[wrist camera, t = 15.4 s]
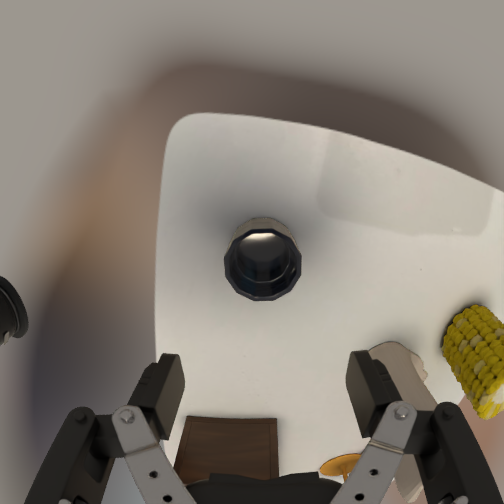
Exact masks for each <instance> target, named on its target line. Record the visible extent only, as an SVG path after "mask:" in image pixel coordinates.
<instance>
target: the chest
mask: <svg viewBox="0 0 504 504" xmlns="http://www.w3.org/2000/svg"><path fill="white" fill-rule="evenodd" d="M173 468H174V470H175V472H176V473H177V475H178V476H179V478H180V480H181V481H182V483H183V484H184V486H186V485H188V484H191V483H193V482H196V481H199V480H204V479H209V476H210V473H222V474H237V475H241V476H246V477H250V478H255V479H259V480H268V479H273V478H277V477H279V462H278V438H277V419H276V418H275V419H227V418H206V417H193V416H187V418H186V421H185V425H184V429H183V433H182V436H181V440H180V444H179V448H178V452H177V455H176V459H175V463H174V467H173Z"/></svg>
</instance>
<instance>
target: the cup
mask: <svg viewBox="0 0 504 504" xmlns="http://www.w3.org/2000/svg"><path fill="white" fill-rule="evenodd" d="M360 456H361V455H360V454H347V455H343V456H339V457H336V458H334V459H331V460H329V461H328V462H326V463H325V464H323V465H322V467H321V468H320V472H321V473H322V474H324V475H328V476H339V475H343V478H344V482H345V480H346V479H347V477H348V476H347V473H350V472H351V471H352V470H353V468H354V466H355V465H356V463H357V461H358V460H359V458H360Z"/></svg>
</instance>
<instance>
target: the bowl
mask: <svg viewBox="0 0 504 504" xmlns="http://www.w3.org/2000/svg"><path fill="white" fill-rule="evenodd" d="M301 262H302V256H301V253H300V251H299V249H298V246H297V244H296V242H295V240H294V238H293V236H292V235H291V233H290V231H289V230H288V228H287V227H286V226H285V225H283V224H281V223H279V222H277V221H275V220H274V219H272V218H253V219H251V220H249V221H248V222H246V223H244V224H243V225H241V226H240V227H238V228H237V230H236V232H235V233H234V235H233V237H232V239H231V241H230V243H229V246H228V248H227V251H226V254H225V256H224V266H225V277H226V278H227V280H228V281H229V283H230V284H231V286H232V287H233V288H234V290H235V291H236V292H237V293H238V294H240V295H243V296H245V297H247V298H249V299H251V300H253V301H273V300H276V299H278V298H279V297H281V296H283V295H285V294H287V293H288V292H290V291H291V290H292V289H293V287H294V285H295V284H296V282H297V281H298V279H299V277H300V276H301Z"/></svg>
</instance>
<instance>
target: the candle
mask: <svg viewBox="0 0 504 504" xmlns="http://www.w3.org/2000/svg"><path fill="white" fill-rule="evenodd" d="M368 352H369V354H370V356H371V358H372V360H373V359H378V360H379V361H381V362H382V363H383V364H384V365H385V366H386V368H387V370H388V372H389V374H390V376H391V378H392V380H393V382H394V383H395V385H396V387H397V389H398V391H399V393H400V395H401V397H402V399H403V401H405V402H408V403H410V404H412V405H413V406H414V407H415V408H416V410H425V411H434V409H435V408H436V406H437V405H438V404H437V402H436V401H435V399H434V398H433V396H432V395H431V393H430V392H429V390H428V389H427V388H426V386H425V385H424V383H423V382H424V381H425V379H426V378H427V373H426V372H425V371H424V370H423V368H424V365H423V362H422V360H421V359H420V357H419V356H417V355H416V354H414V353H413V352H411V351H410V350H408V349H406V348H405V347H403V346H402V345H401V344H399V343H396V342H387V343H383V344H380V345H378V346H376V347H374V348H372V349H371V350H370V351H368ZM394 478H395V481H396V485H397V488H398V491H399V492H400V494H401V495H402V497H403V499H404V500H405V501H406V502H407V503H413V502H414V501H415V500H416V499H417V498H418V496H419V494H420V492H421V490H422V489H423V484H422V481H421V477H420V474H419V471H418V467H417V464H416V461H415V458H414V455H413V454H404V455H403V458H402V460H401V462H400V465H399V467H398V469H397V471H396V473H395V475H394Z"/></svg>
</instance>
